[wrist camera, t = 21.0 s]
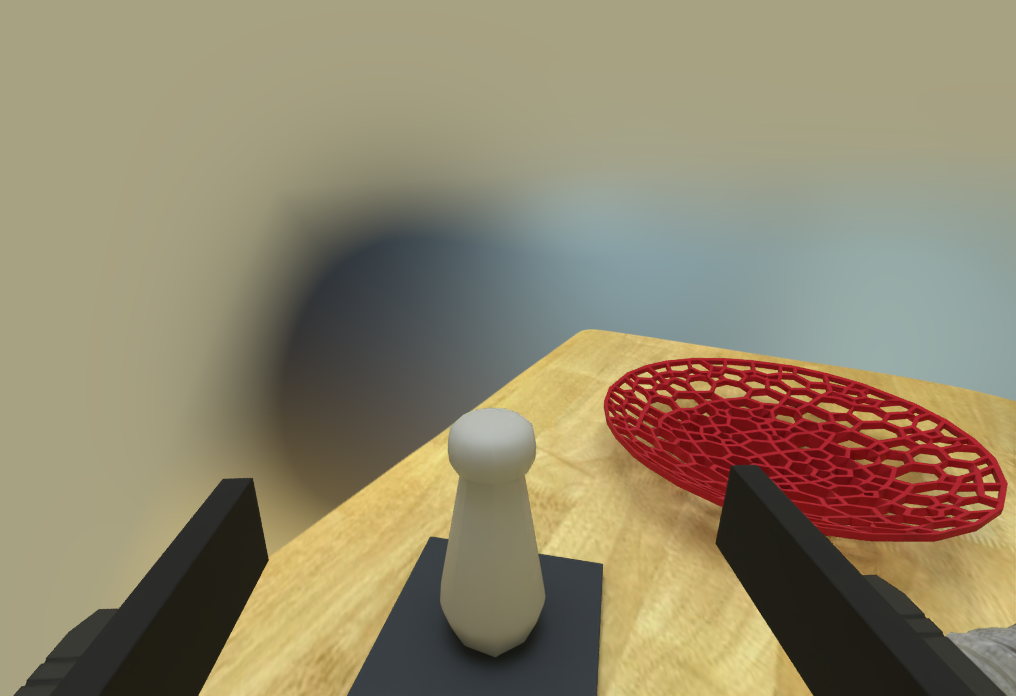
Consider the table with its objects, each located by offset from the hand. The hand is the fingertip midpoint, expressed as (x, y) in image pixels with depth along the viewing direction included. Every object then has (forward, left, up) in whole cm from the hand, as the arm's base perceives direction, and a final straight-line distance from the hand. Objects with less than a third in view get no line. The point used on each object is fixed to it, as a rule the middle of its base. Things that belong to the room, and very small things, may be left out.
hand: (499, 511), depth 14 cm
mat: (-3, +9, -16) cm, 19 cm away
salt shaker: (-3, +9, -16) cm, 18 cm away
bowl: (+17, +31, -17) cm, 39 cm away
